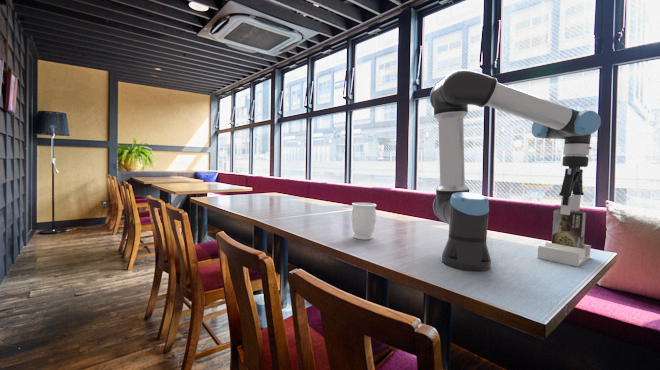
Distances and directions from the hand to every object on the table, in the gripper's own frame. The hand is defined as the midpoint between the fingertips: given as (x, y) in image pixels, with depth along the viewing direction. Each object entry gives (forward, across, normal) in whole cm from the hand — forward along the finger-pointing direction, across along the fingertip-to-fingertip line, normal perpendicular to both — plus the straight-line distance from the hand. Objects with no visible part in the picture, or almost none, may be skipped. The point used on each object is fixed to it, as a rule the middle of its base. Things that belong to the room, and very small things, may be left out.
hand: (569, 213), depth 120 cm
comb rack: (+16, -4, 0) cm, 17 cm away
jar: (+18, -44, +63) cm, 79 cm away
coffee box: (+15, 0, 0) cm, 15 cm away
